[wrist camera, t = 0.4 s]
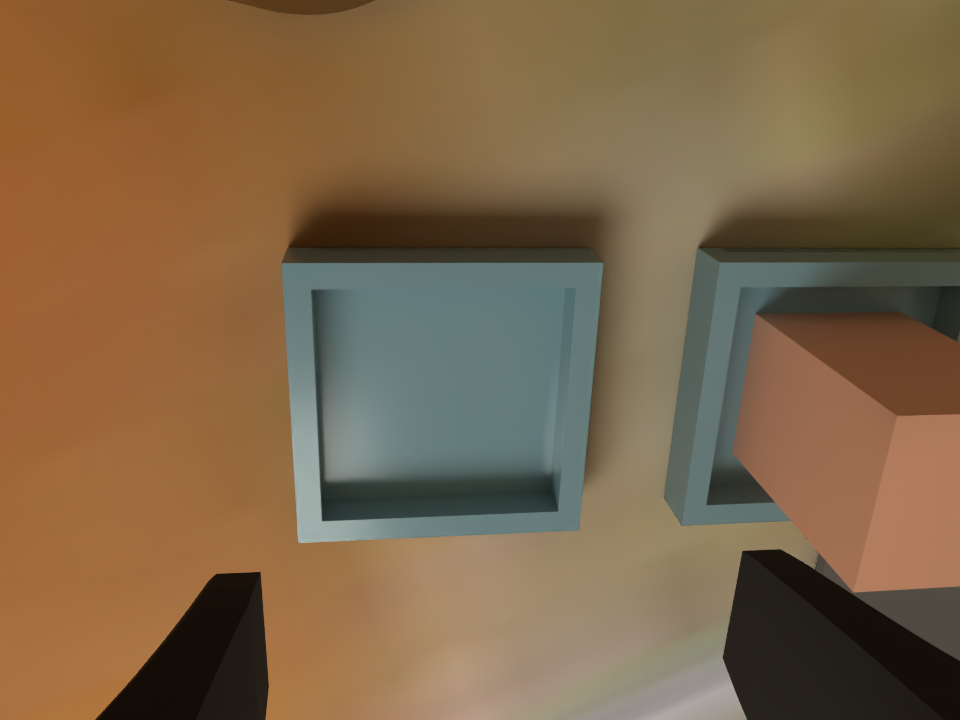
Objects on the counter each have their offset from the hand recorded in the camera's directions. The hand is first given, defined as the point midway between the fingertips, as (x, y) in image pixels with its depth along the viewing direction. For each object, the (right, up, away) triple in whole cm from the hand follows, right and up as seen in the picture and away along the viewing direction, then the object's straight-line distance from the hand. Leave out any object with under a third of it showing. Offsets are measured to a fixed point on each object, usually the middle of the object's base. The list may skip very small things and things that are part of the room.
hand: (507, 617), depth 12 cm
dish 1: (-1, +3, +9) cm, 9 cm away
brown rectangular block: (+9, +3, +10) cm, 13 cm away
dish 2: (+9, +3, +10) cm, 13 cm away
